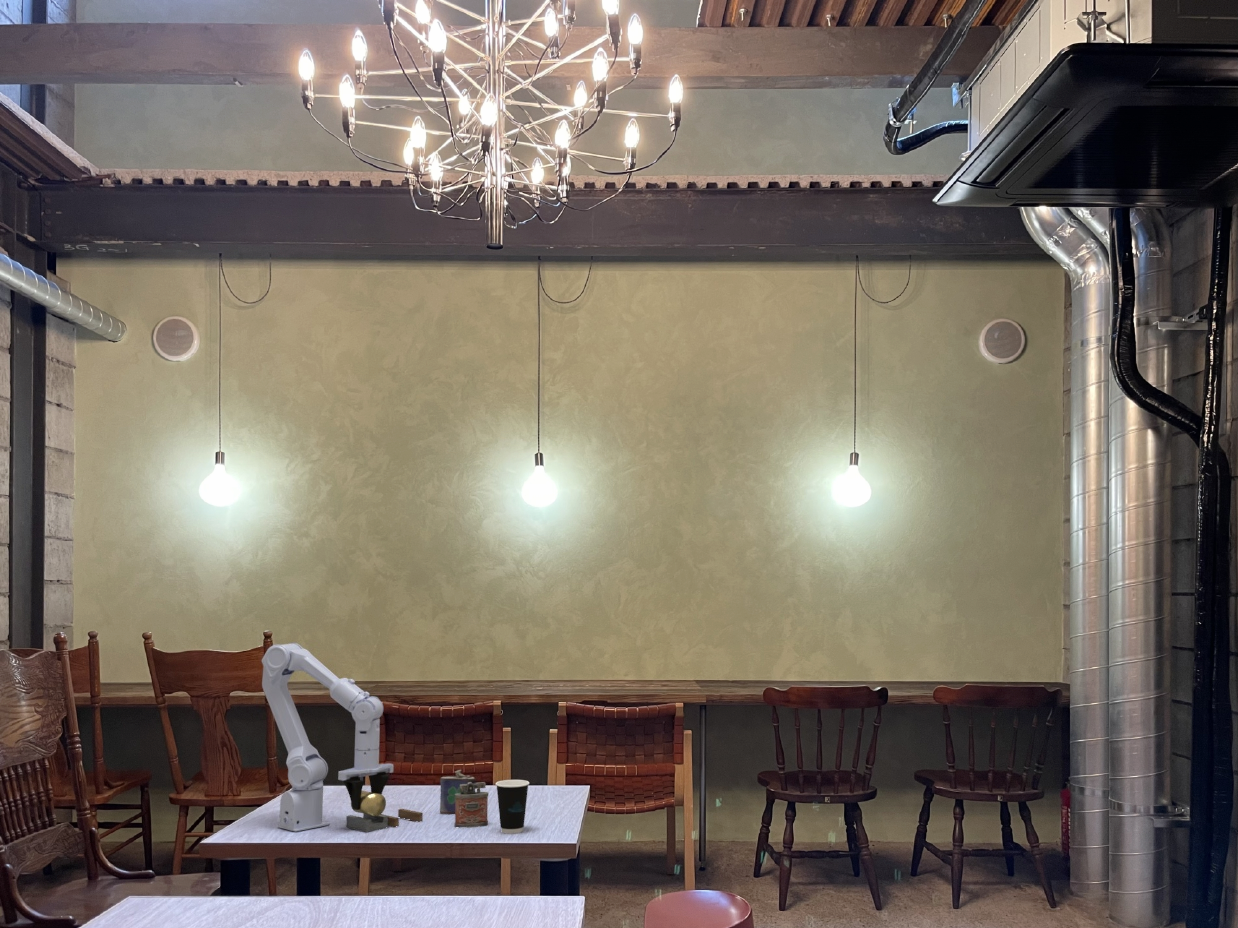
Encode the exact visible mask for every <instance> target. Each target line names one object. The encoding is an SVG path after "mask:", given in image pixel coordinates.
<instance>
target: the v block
mask: <svg viewBox="0 0 1238 928" xmlns="http://www.w3.org/2000/svg"><path fill="white" fill-rule="evenodd" d="M362 814H363V813H362ZM385 815H386V814H383V815H381V814H380V815H379V816H372V815H367V814H363V817H361V816H357V815H352V814H350V815H346V821H345V822H346V823H345V824H346V825H345V826H346V827H347V829H351V830H354V829H355V831H359V832H363V833H369V832H370V831H371V832H373V831H374V832H375V831H379V829H380V830H383V828H384V829H387V828H386V827H389V826H388V816H389V815H388V816H385ZM346 827H345V828H346ZM371 832H370V833H371Z"/></svg>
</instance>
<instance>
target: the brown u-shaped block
mask: <svg viewBox="0 0 1238 928" xmlns="http://www.w3.org/2000/svg"><path fill="white" fill-rule="evenodd" d="M397 811H398V812H397V816H393V815H388V814H383V813H382V814H381V815H385V816H388V827H390V826H393V827H392V828H397V827H396V826H399V825H400V824H399V822H400V819H402V818H405V819H404V820H406V819H410V820H409V821H411V820H412V821H411V822H416V821H418V822H417V823H421V822H420V821H422V822H423V816H424V815H423V814H424V813H423V812H422V811H421V812H419V811H415V810H410V809H406V808H399V809H398V810H397ZM398 817H400V818H398Z"/></svg>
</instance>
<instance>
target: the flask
mask: <svg viewBox="0 0 1238 928" xmlns="http://www.w3.org/2000/svg"><path fill="white" fill-rule="evenodd" d="M461 771H462V769H458V770H456V771H454V773H455V776H442V777H440V796H439V797H440V801H439V803H440V804H439V813H441V814H442V815H452V814H455V800H456V798H455V794H457V793H461V792H460V785H462V784H467V783H468V782H472V784H476V778H475V777H474V776H471V775H464V774H463V773H461ZM465 790H466V789H464V793H465ZM474 790H475V791H476V789H474Z"/></svg>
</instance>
